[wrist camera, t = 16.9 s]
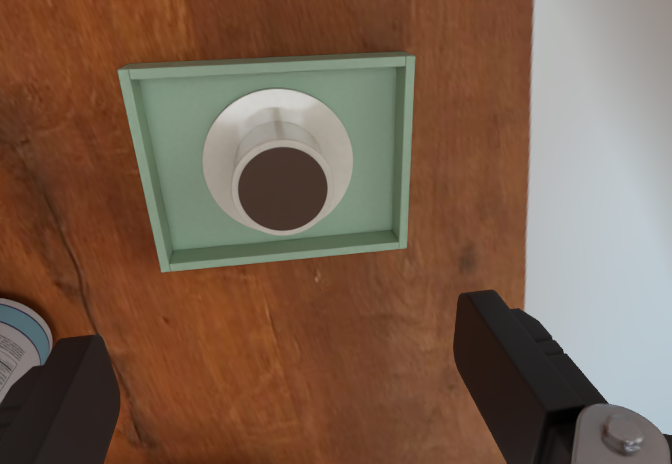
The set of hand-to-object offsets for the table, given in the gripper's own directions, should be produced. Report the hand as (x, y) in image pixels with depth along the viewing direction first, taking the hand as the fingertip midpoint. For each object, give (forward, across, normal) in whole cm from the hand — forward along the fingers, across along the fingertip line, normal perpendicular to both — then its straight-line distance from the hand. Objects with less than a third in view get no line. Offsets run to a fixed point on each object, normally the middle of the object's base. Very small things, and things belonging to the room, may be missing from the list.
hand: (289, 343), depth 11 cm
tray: (+23, 0, +3) cm, 24 cm away
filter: (+23, 0, +3) cm, 23 cm away
